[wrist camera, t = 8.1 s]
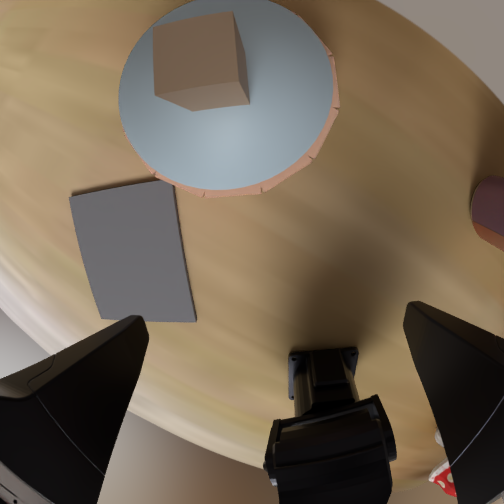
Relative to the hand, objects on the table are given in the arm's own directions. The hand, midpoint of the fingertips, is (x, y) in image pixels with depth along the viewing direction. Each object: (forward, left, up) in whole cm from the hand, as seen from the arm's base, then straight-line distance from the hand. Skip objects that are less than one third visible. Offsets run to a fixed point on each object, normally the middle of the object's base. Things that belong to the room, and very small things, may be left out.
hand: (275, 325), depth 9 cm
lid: (+9, +2, -8) cm, 12 cm away
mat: (-2, +12, -12) cm, 17 cm away
